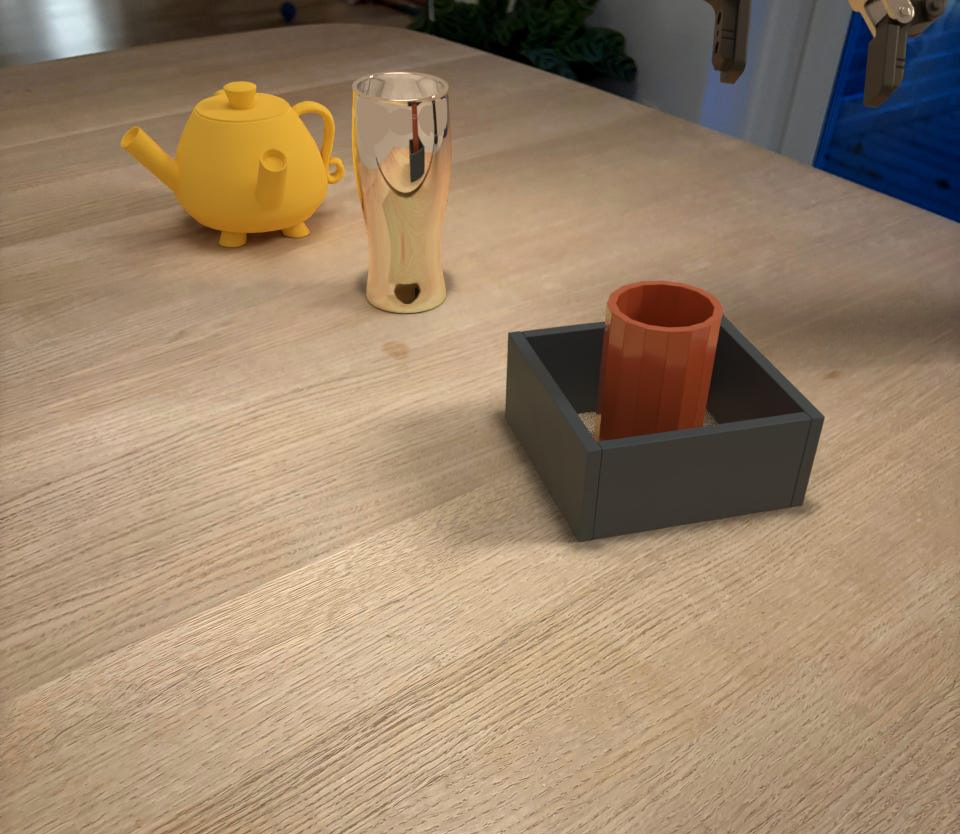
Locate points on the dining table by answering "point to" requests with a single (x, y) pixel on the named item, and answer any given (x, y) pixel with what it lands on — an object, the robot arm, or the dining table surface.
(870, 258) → the dining table surface
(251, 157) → the teapot
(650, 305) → the tumbler
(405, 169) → the beer glass
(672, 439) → the open box
